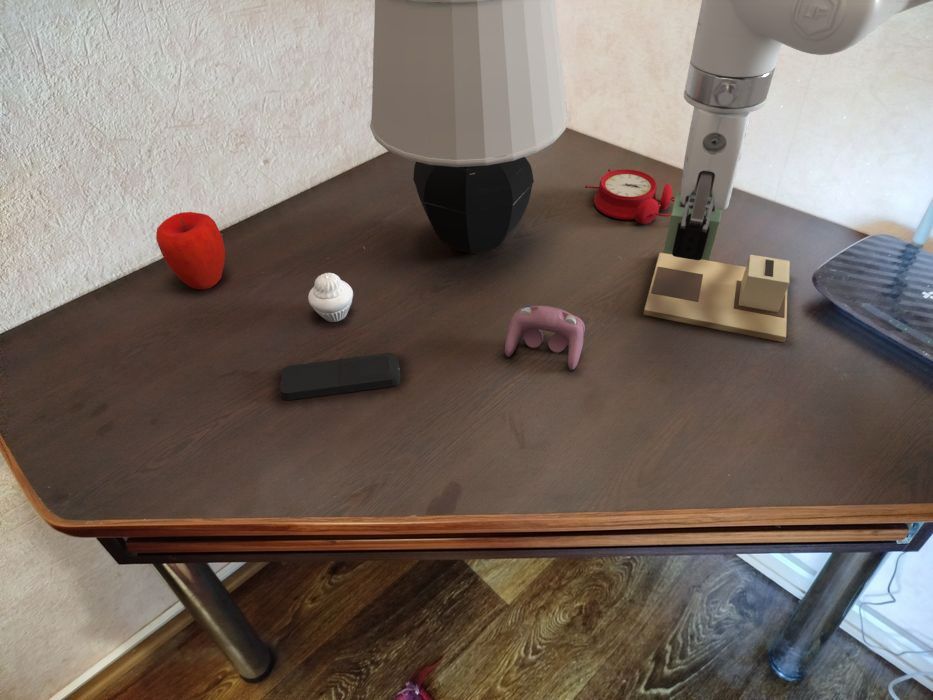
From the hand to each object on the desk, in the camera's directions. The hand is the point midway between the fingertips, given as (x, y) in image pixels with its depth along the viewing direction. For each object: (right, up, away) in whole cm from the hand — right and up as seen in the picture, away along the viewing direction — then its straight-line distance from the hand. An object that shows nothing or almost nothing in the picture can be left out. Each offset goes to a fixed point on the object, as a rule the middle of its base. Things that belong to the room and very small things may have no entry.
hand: (689, 241), depth 73 cm
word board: (+10, -5, +17) cm, 20 cm away
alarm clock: (+3, +11, +34) cm, 36 cm away
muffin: (-44, -8, +18) cm, 48 cm away
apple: (-65, -2, +25) cm, 70 cm away
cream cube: (+15, -5, +15) cm, 21 cm away
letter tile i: (0, 0, 0) cm, 0 cm away
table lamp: (-24, +4, +29) cm, 38 cm away
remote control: (-42, -16, +8) cm, 45 cm away
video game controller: (-15, -13, +11) cm, 23 cm away
